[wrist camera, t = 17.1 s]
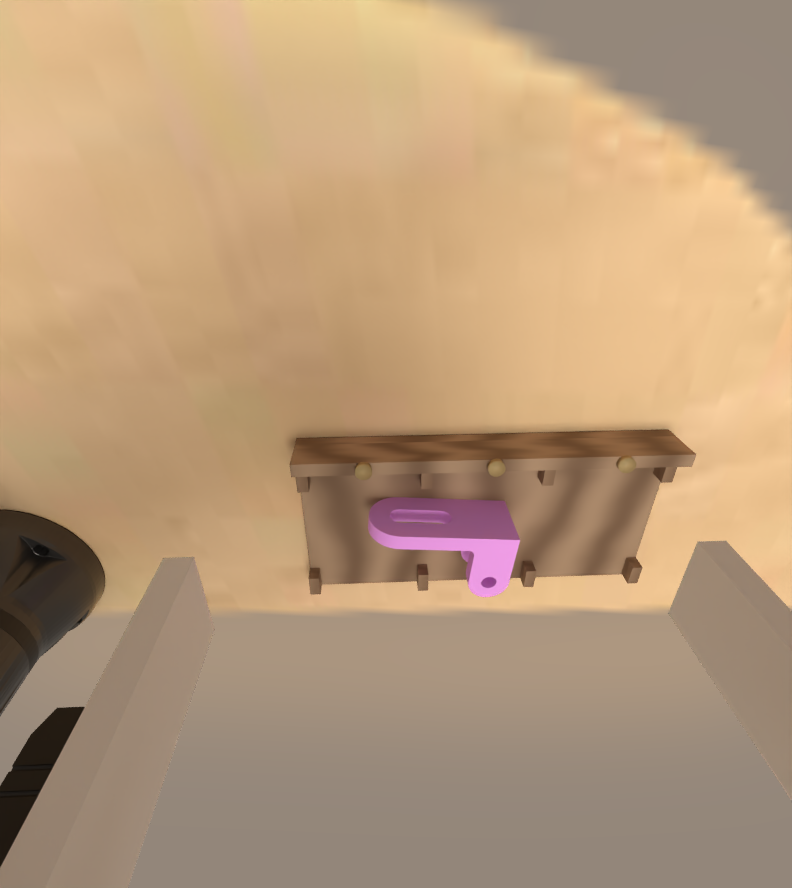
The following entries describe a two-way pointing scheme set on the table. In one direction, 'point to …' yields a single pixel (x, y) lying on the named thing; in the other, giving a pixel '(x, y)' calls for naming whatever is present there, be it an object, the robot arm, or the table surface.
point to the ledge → (486, 478)
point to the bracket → (453, 534)
